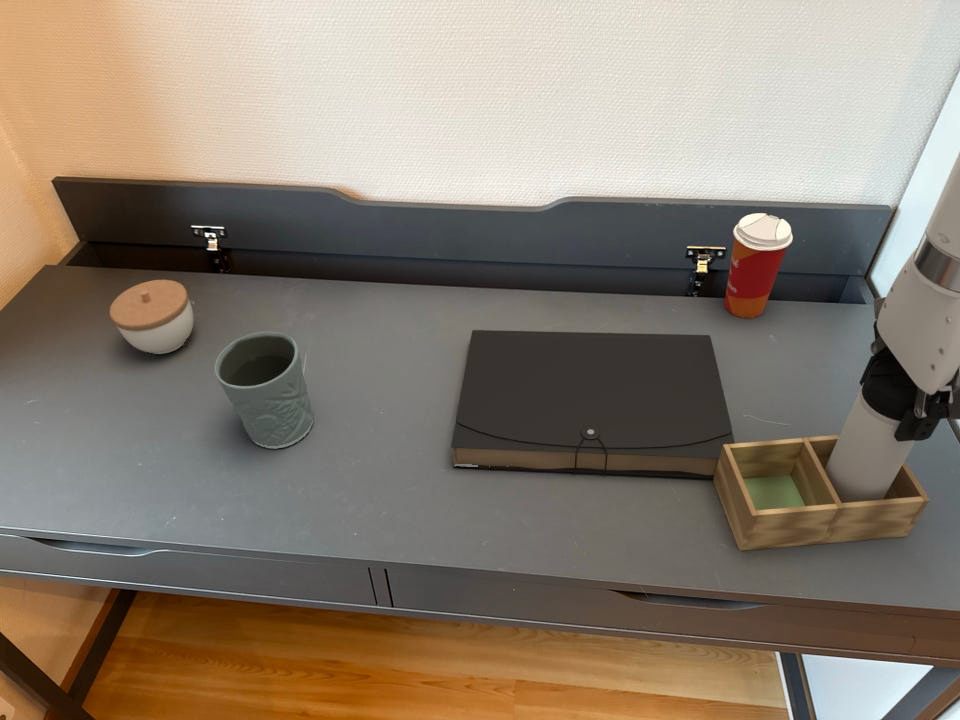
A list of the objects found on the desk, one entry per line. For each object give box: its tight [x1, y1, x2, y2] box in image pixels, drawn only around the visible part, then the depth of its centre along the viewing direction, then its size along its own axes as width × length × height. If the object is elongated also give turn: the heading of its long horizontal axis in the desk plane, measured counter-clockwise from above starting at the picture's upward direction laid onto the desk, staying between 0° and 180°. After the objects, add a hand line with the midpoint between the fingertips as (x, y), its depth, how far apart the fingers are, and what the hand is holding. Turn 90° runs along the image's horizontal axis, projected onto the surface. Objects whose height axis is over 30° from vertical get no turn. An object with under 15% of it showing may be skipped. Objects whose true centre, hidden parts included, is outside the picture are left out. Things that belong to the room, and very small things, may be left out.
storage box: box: [712, 434, 931, 552], centre depth 77 cm, size 18×9×7 cm, turn 94°
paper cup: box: [724, 212, 794, 319], centre depth 100 cm, size 8×8×14 cm
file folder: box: [450, 329, 736, 479], centre depth 92 cm, size 33×4×24 cm
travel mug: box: [824, 356, 941, 503], centre depth 72 cm, size 6×7×20 cm
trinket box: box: [109, 279, 195, 354], centre depth 103 cm, size 11×11×9 cm
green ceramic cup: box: [213, 331, 314, 446], centre depth 89 cm, size 10×10×12 cm
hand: (892, 409), depth 69 cm, fingers closed on travel mug, 6 cm apart
